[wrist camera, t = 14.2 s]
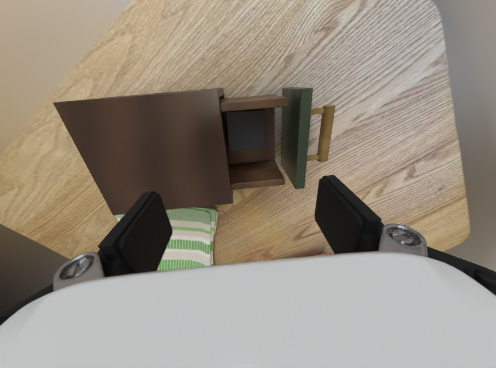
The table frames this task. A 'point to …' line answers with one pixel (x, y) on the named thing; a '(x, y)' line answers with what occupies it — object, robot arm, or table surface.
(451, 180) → the table surface
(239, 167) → the drawer
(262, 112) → the block
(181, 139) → the cabinet
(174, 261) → the dish towel
